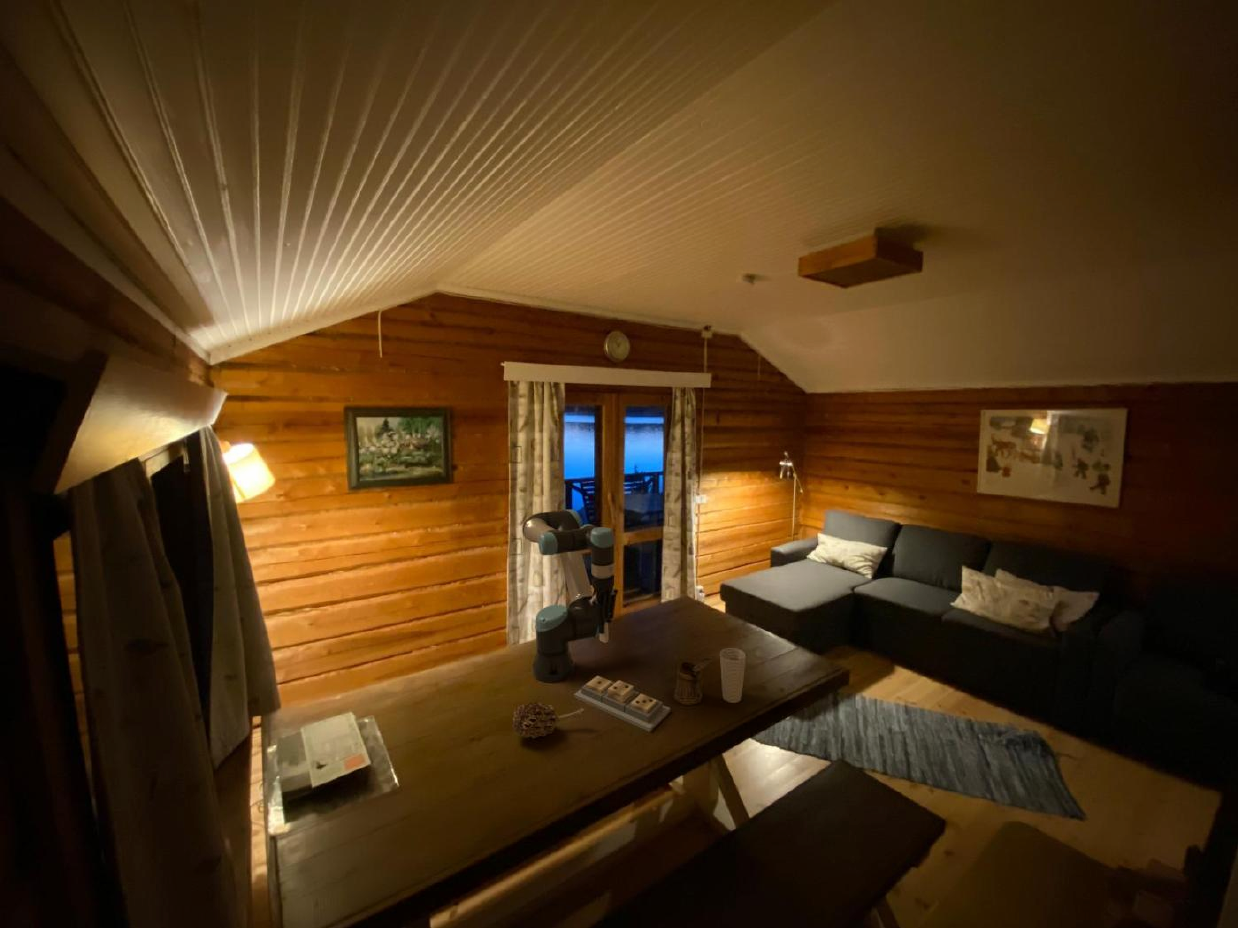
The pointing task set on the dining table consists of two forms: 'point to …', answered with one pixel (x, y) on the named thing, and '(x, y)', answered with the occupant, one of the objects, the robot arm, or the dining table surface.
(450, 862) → the dining table surface
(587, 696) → the button board
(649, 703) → the tile
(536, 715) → the pine cone
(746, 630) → the dining table surface
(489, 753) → the dining table surface
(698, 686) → the wooden mug
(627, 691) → the tile
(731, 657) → the cup
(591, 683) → the tan square block
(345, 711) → the dining table surface
